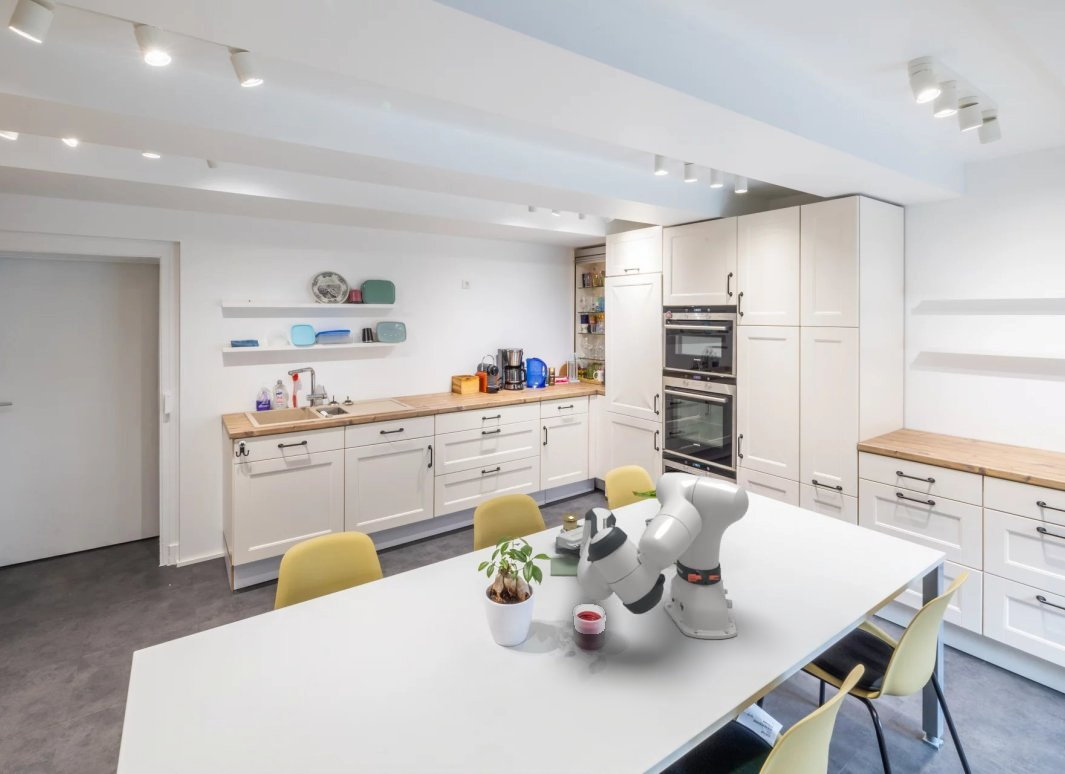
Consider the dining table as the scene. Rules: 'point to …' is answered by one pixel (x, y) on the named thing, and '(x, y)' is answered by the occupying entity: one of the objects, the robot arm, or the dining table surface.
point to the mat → (564, 566)
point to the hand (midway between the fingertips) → (568, 528)
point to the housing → (565, 549)
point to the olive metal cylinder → (569, 520)
